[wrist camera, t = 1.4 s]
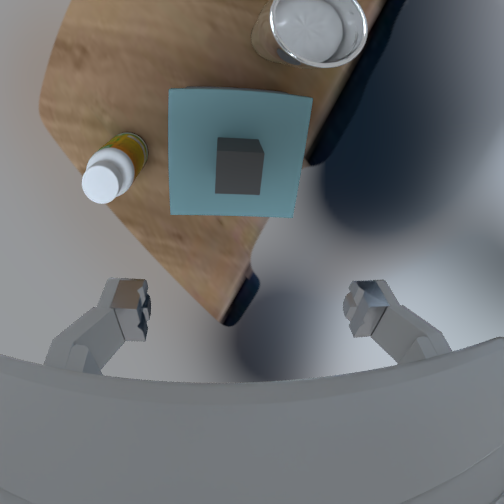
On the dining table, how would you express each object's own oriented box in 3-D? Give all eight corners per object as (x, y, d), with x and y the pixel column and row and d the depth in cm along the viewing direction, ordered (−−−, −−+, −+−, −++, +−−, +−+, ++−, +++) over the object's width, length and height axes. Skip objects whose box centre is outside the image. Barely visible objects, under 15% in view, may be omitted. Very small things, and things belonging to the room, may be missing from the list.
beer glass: (233, 42, 25) (242, 24, 13) (273, 0, 22) (311, -41, 10) (283, 77, 28) (327, 91, 16) (321, 37, 25) (389, 28, 13)
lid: (170, 88, 21) (158, 94, 17) (309, 97, 23) (328, 105, 19) (172, 209, 28) (164, 238, 24) (290, 213, 30) (301, 240, 26)
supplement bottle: (127, 122, 29) (96, 146, 22) (157, 152, 32) (137, 185, 24) (99, 153, 31) (66, 185, 23) (129, 180, 34) (104, 220, 26)
